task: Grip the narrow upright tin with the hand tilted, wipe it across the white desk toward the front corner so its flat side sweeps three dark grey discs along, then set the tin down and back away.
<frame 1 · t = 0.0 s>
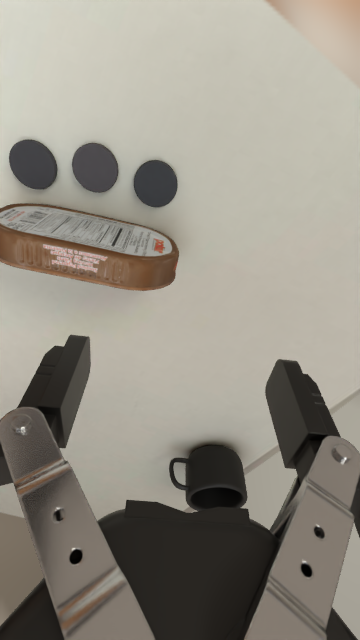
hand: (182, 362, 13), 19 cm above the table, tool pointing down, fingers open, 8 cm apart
tin: (99, 225, 29), on the table
dark grey disc 1: (35, 164, 26), on the table
dark grey disc 2: (96, 167, 26), on the table
dark grey disc 3: (156, 183, 27), on the table
mug: (204, 451, 51), on the table
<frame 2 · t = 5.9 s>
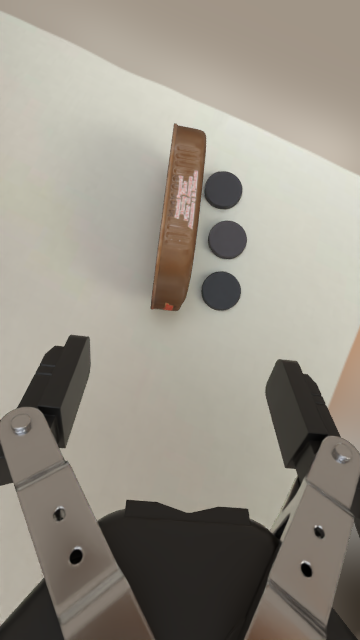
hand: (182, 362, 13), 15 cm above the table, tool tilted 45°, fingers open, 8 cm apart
tin: (175, 240, 30), on the table
dark grey disc 1: (222, 191, 31), on the table
dark grey disc 2: (226, 241, 30), on the table
dark grey disc 3: (220, 291, 30), on the table
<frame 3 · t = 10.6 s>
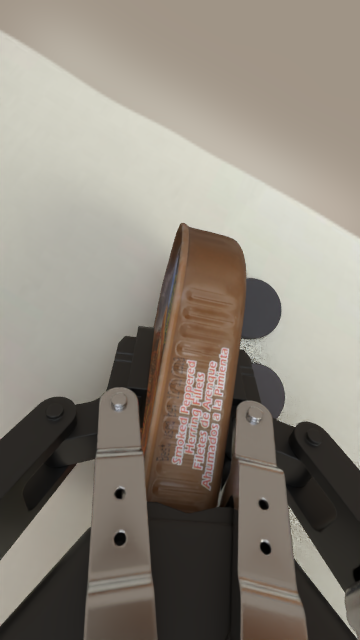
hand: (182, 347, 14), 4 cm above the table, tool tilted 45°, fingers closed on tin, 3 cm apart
tin: (169, 389, 18), on the table, touching gripper
dark grey disc 1: (248, 309, 19), on the table
dark grey disc 2: (250, 394, 18), on the table
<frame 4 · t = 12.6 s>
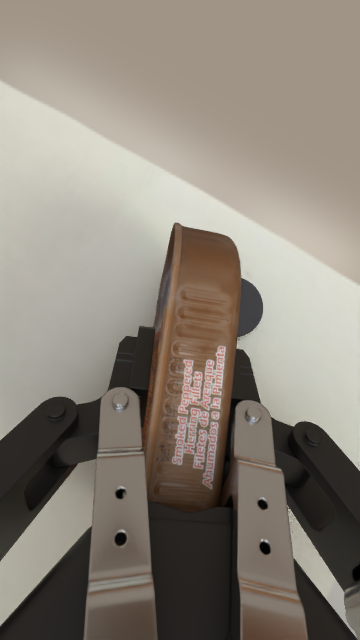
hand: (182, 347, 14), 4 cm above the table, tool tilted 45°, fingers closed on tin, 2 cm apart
tin: (172, 389, 18), on the table, touching dark grey disc 2, dark grey disc 3, gripper
dark grey disc 1: (230, 307, 19), on the table
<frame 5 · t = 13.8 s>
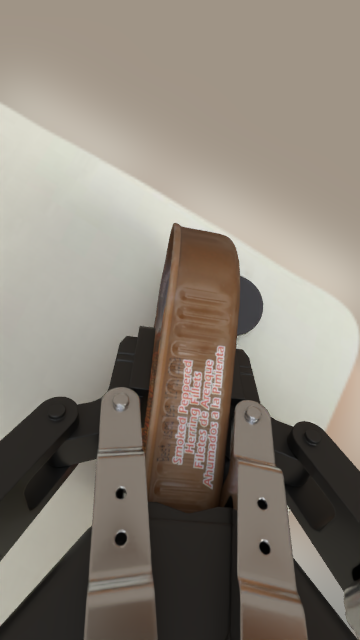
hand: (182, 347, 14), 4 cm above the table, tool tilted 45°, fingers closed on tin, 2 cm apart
tin: (172, 389, 18), on the table, touching dark grey disc 1, dark grey disc 2, dark grey disc 3, gripper
dark grey disc 1: (230, 306, 19), on the table, touching tin
when the fingers open (4 cm above the table, at t = 15.7 s): tin stays where it is, on the table.
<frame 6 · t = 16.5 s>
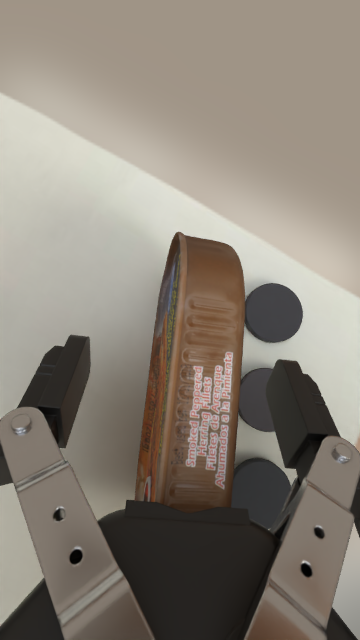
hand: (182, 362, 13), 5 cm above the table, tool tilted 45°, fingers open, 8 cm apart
tin: (173, 392, 18), on the table
dark grey disc 1: (270, 313, 20), on the table
dark grey disc 2: (264, 398, 19), on the table
dark grey disc 3: (257, 491, 18), on the table
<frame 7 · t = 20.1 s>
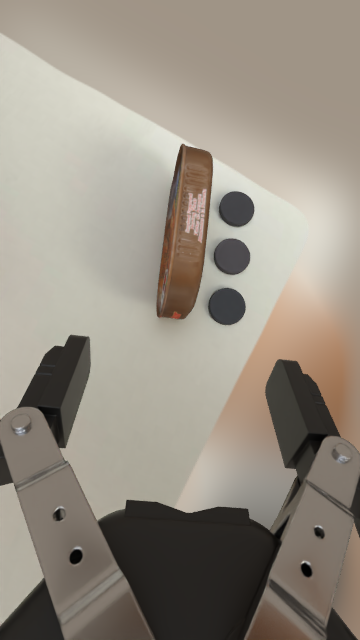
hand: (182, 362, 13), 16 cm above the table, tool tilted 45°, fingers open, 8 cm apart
tin: (177, 252, 32), on the table
dark grey disc 1: (235, 210, 33), on the table
dark grey disc 2: (231, 257, 32), on the table
dark grey disc 3: (226, 307, 31), on the table
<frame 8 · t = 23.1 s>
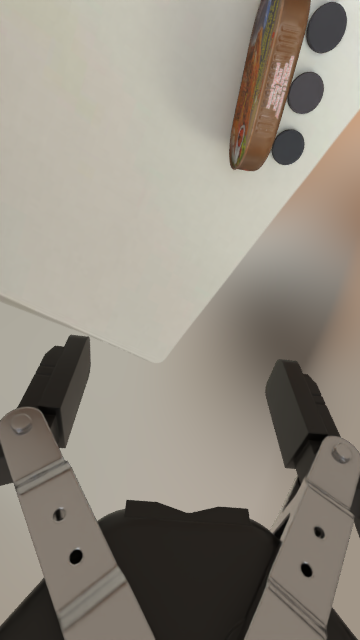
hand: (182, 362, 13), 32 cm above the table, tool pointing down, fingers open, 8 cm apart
tin: (254, 86, 34), on the table
dark grey disc 1: (325, 29, 31), on the table
dark grey disc 2: (304, 93, 34), on the table
dark grey disc 3: (287, 147, 37), on the table
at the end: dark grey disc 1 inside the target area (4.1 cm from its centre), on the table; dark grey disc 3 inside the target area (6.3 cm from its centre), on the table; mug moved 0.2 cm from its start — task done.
